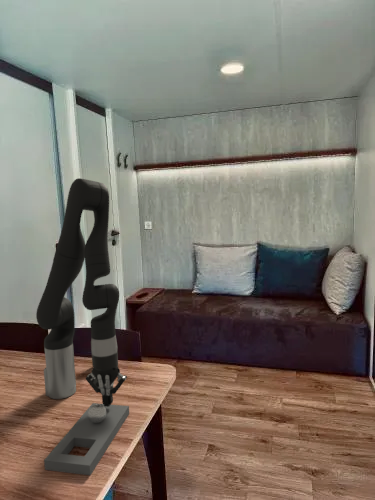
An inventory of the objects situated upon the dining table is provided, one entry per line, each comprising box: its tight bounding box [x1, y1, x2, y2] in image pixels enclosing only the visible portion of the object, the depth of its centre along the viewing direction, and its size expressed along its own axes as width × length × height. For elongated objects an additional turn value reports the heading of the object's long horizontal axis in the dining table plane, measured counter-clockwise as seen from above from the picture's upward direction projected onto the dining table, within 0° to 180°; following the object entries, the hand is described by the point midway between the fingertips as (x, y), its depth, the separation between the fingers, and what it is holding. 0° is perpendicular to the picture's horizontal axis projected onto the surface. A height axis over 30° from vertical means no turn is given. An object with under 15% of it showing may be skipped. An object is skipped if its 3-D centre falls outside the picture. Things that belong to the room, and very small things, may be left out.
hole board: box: [43, 402, 130, 476], centre depth 98 cm, size 12×26×2 cm, turn 169°
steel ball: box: [88, 403, 106, 423], centre depth 102 cm, size 5×5×5 cm
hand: (108, 405), depth 109 cm, fingers closed
